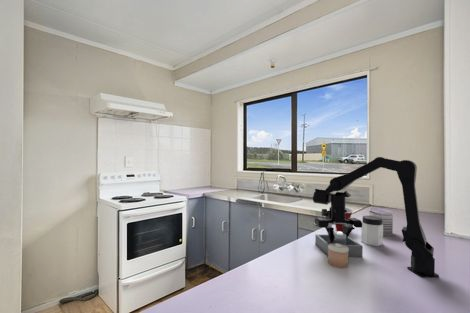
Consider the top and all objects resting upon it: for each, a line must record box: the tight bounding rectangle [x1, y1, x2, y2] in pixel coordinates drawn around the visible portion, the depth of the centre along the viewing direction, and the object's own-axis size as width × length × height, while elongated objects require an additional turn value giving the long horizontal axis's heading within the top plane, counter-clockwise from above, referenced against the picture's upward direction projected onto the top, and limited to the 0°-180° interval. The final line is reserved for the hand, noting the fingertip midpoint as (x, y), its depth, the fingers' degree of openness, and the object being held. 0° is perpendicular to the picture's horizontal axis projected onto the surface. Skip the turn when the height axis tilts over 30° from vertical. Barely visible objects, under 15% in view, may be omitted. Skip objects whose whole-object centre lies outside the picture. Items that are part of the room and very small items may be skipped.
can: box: [368, 207, 395, 237], centre depth 129 cm, size 11×11×12 cm
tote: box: [314, 233, 364, 258], centre depth 103 cm, size 14×14×4 cm
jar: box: [360, 215, 384, 247], centre depth 112 cm, size 9×8×12 cm
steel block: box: [329, 230, 346, 245], centre depth 103 cm, size 5×5×5 cm
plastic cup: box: [335, 207, 354, 232], centre depth 131 cm, size 11×11×12 cm
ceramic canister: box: [327, 243, 349, 269], centre depth 89 cm, size 7×7×7 cm
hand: (337, 242), depth 103 cm, fingers closed on steel block, 5 cm apart
